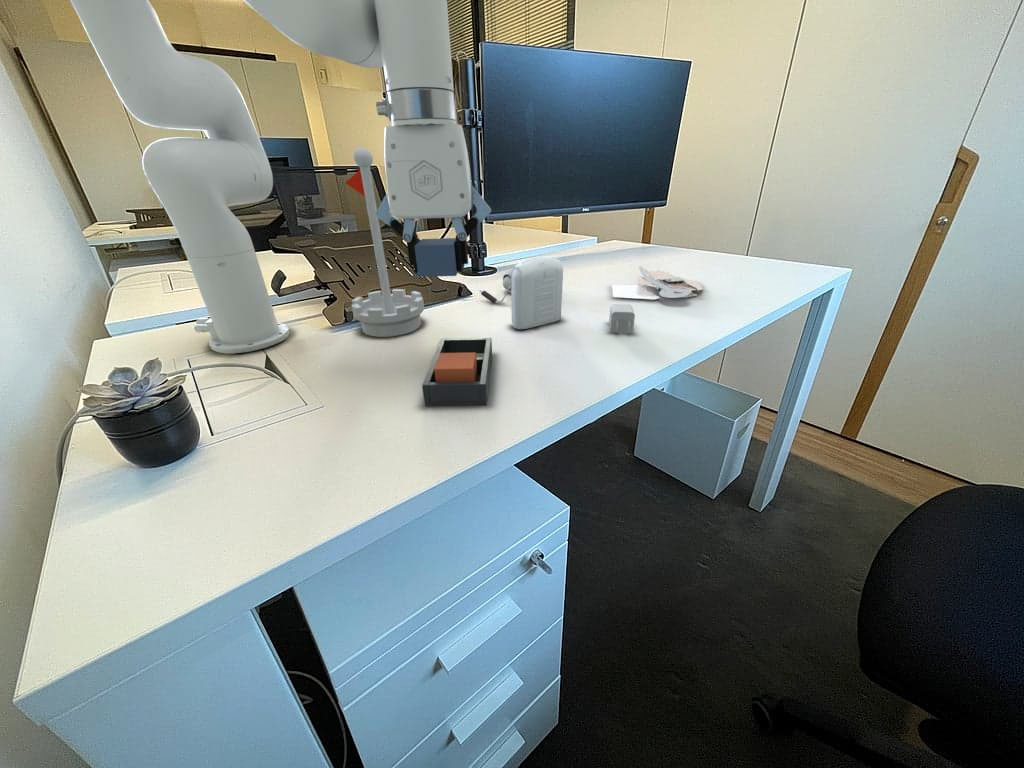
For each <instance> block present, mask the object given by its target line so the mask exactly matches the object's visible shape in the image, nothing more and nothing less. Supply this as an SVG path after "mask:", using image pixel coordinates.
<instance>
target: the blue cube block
mask: <svg viewBox="0 0 1024 768" xmlns="http://www.w3.org/2000/svg"><path fill="white" fill-rule="evenodd" d="M420 240H421V241H419V242H418V243H417V244H416V245H415V254H416V261H417V269H418V273H417V276H418V277H419V278H426V277H429V278H430V277H457V275H458V273H459V272H458V271H457V267H456V256H455V245H454V242H455V240H456V237H445V238H443V237H441V238H440V237H439V238H421V239H420Z"/></svg>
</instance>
